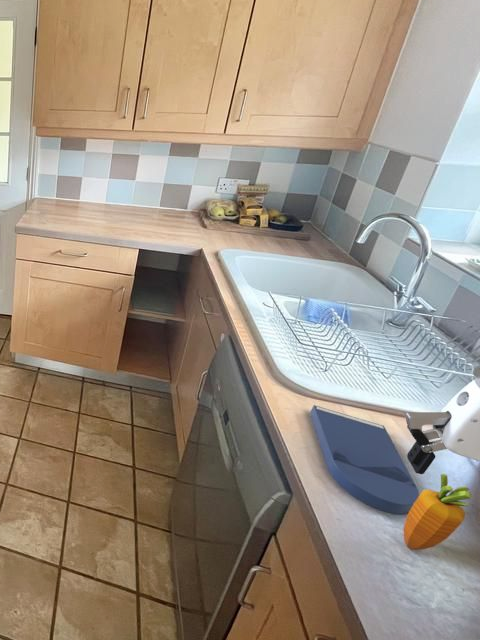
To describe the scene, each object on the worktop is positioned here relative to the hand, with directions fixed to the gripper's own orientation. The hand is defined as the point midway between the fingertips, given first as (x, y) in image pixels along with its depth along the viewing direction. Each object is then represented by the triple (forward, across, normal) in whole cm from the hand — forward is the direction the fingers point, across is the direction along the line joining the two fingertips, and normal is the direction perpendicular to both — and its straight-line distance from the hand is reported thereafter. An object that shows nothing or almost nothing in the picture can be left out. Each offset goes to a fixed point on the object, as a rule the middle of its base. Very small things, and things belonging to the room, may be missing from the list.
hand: (458, 481), depth 60 cm
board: (+16, -2, +17) cm, 23 cm away
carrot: (+16, 0, 0) cm, 16 cm away
